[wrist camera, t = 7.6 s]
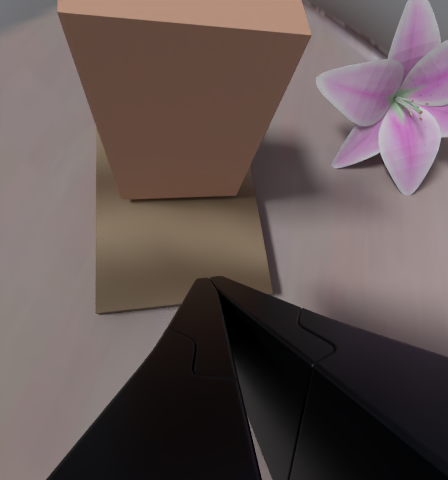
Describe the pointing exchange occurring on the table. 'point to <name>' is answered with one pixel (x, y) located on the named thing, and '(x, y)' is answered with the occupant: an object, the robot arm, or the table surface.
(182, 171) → the salmon pink upright block
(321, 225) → the table surface
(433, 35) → the lily
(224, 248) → the tan board
